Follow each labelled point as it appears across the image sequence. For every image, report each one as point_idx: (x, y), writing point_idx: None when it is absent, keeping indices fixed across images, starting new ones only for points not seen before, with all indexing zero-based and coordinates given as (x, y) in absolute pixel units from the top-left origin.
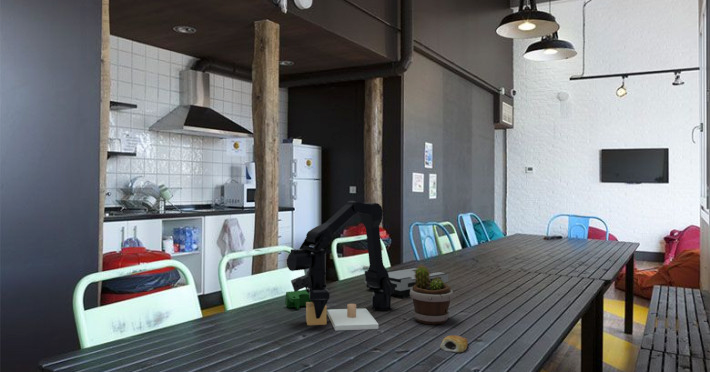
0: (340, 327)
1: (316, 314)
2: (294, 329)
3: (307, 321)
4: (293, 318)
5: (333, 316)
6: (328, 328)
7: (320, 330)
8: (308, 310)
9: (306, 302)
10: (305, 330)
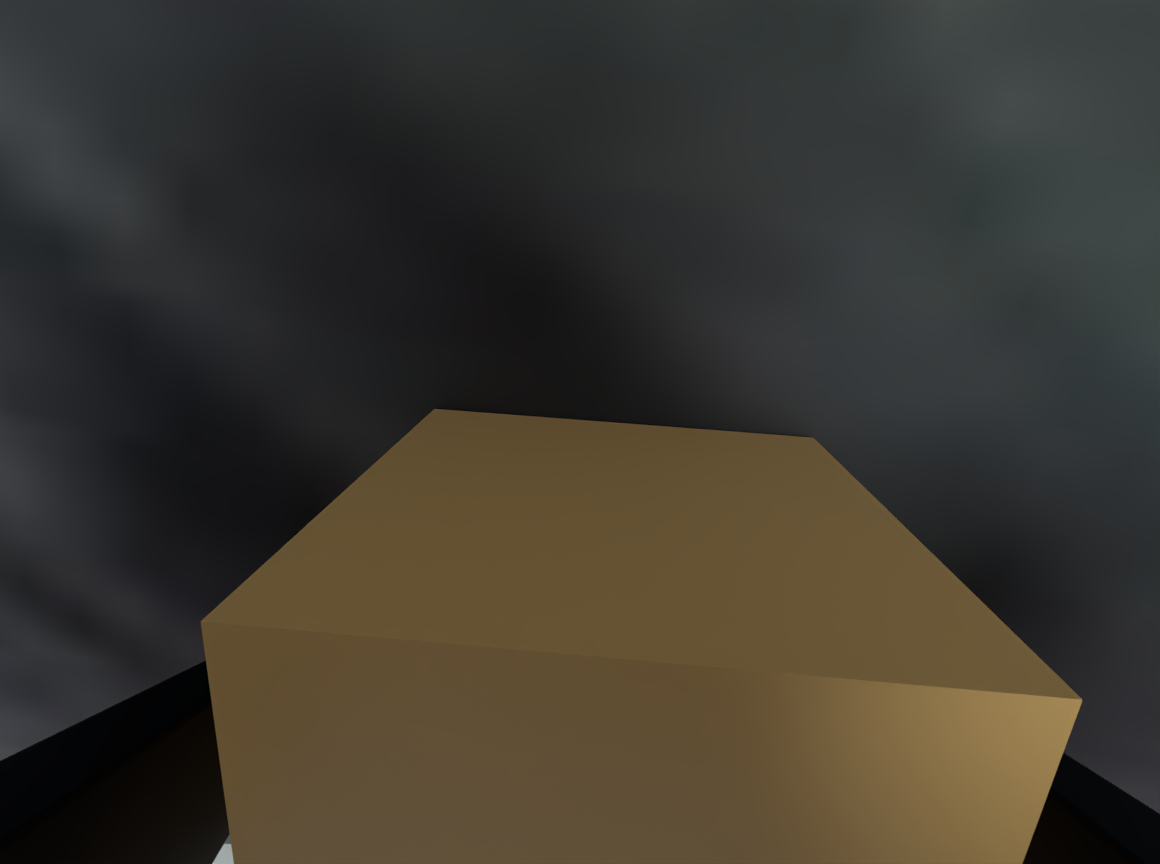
0: None
1: (162, 698)
2: (163, 92)
3: (439, 429)
4: (1040, 179)
5: None
6: None
7: (112, 567)
8: (284, 566)
9: (1036, 703)
10: (102, 316)
